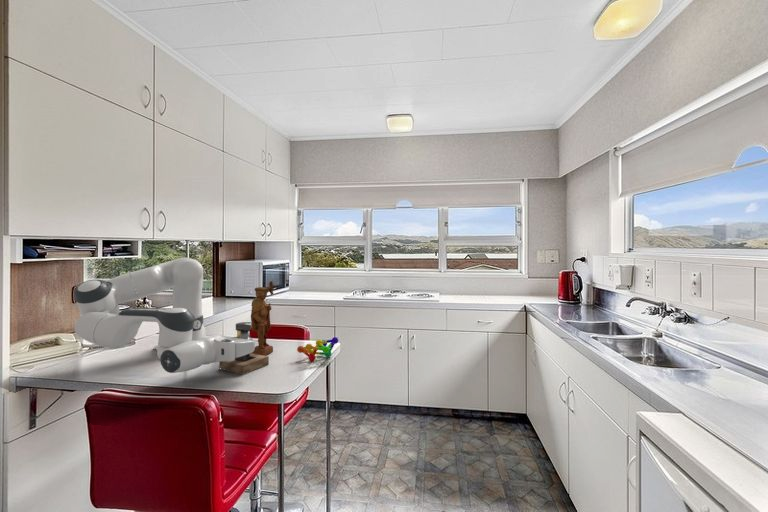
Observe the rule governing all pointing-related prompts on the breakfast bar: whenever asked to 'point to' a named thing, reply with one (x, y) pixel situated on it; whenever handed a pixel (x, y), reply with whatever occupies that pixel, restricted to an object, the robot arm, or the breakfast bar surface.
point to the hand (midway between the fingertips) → (246, 339)
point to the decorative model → (318, 348)
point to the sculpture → (261, 319)
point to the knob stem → (244, 335)
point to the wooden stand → (245, 363)
